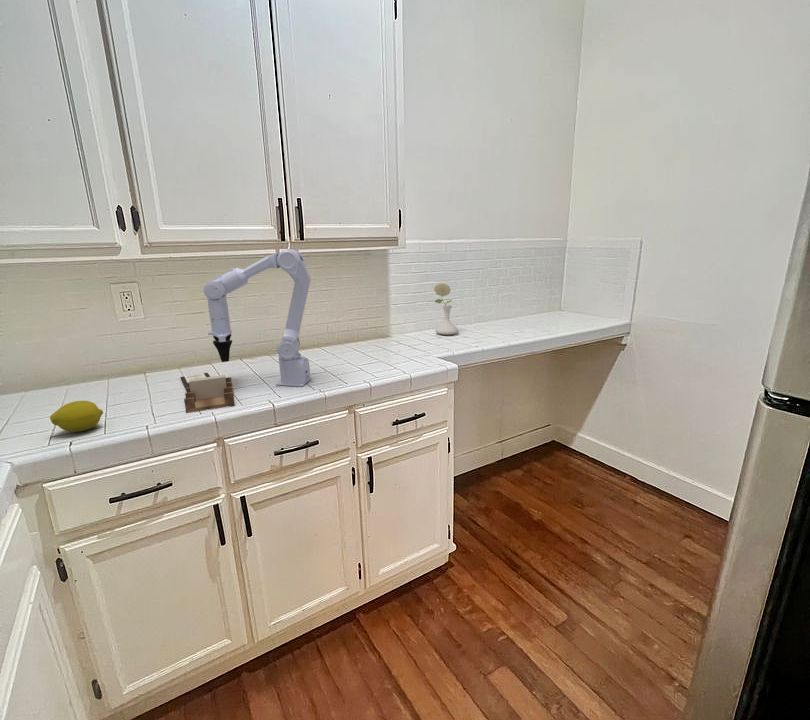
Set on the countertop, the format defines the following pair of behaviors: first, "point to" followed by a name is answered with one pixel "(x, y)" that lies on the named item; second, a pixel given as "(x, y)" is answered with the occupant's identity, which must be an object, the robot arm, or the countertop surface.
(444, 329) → the flower in vase
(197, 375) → the chocolate bar
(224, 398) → the pegged wooden tray
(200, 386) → the clay slab
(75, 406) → the lemon
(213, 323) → the robot arm
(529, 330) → the countertop surface
